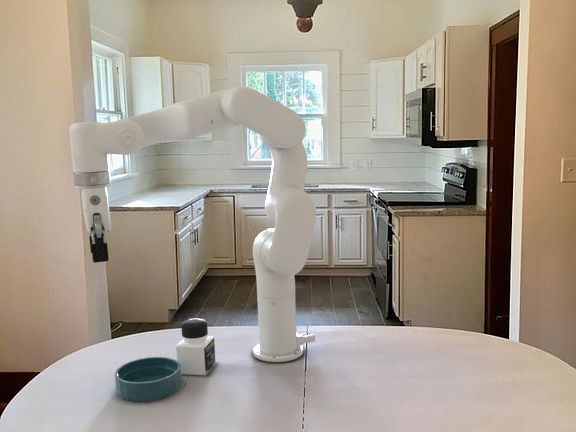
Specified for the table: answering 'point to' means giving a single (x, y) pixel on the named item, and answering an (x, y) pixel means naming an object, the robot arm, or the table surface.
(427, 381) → the table surface
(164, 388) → the dish
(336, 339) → the table surface
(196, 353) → the medicine bottle
